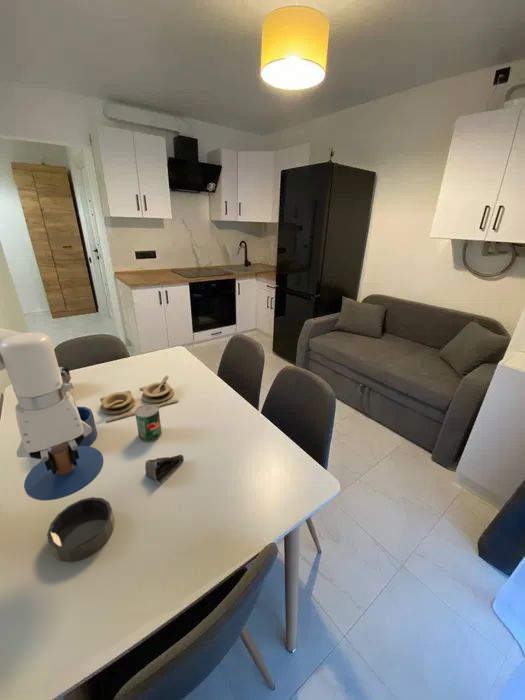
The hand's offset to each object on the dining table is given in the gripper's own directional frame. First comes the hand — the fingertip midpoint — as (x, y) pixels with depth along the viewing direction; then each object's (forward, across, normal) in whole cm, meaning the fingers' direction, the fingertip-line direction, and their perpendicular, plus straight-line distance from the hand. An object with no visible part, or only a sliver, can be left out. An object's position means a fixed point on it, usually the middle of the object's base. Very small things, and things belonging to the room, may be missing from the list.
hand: (64, 465), depth 64 cm
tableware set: (+22, -29, -51) cm, 63 cm away
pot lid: (+2, 0, 0) cm, 2 cm away
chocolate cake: (+23, -23, -8) cm, 33 cm away
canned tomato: (+23, -26, -26) cm, 43 cm away
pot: (+22, -4, -39) cm, 45 cm away
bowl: (+22, 0, 0) cm, 22 cm away
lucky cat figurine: (+22, -2, -77) cm, 80 cm away
